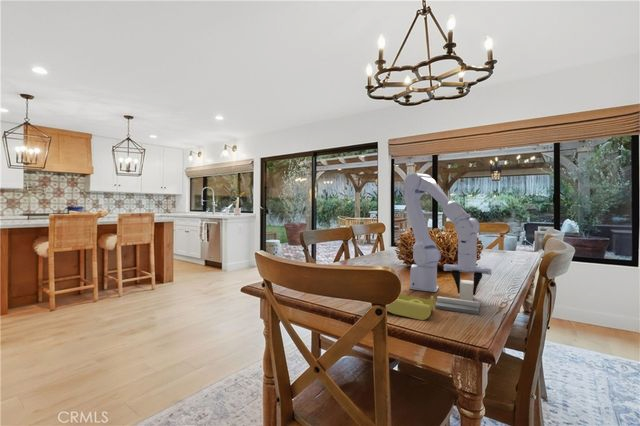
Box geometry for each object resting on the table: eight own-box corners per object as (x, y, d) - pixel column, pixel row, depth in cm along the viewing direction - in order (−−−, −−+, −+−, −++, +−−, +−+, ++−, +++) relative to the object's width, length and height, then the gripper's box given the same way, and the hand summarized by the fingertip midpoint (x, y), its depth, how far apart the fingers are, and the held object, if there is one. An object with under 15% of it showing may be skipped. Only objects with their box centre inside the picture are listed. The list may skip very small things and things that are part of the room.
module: (459, 299, 105) (459, 282, 104) (460, 295, 109) (460, 279, 109) (472, 301, 103) (473, 284, 103) (473, 297, 107) (473, 281, 107)
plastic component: (434, 301, 95) (433, 294, 87) (431, 325, 93) (429, 321, 84) (372, 288, 104) (364, 281, 95) (367, 311, 101) (359, 305, 93)
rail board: (435, 308, 95) (435, 301, 95) (439, 299, 104) (439, 293, 104) (479, 314, 90) (479, 307, 90) (479, 304, 99) (479, 298, 99)
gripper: (442, 253, 105) (442, 293, 106) (491, 257, 99) (491, 299, 99) (445, 251, 112) (444, 288, 112) (491, 254, 105) (490, 294, 105)
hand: (466, 293), depth 106 cm, fingers closed on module, 4 cm apart
